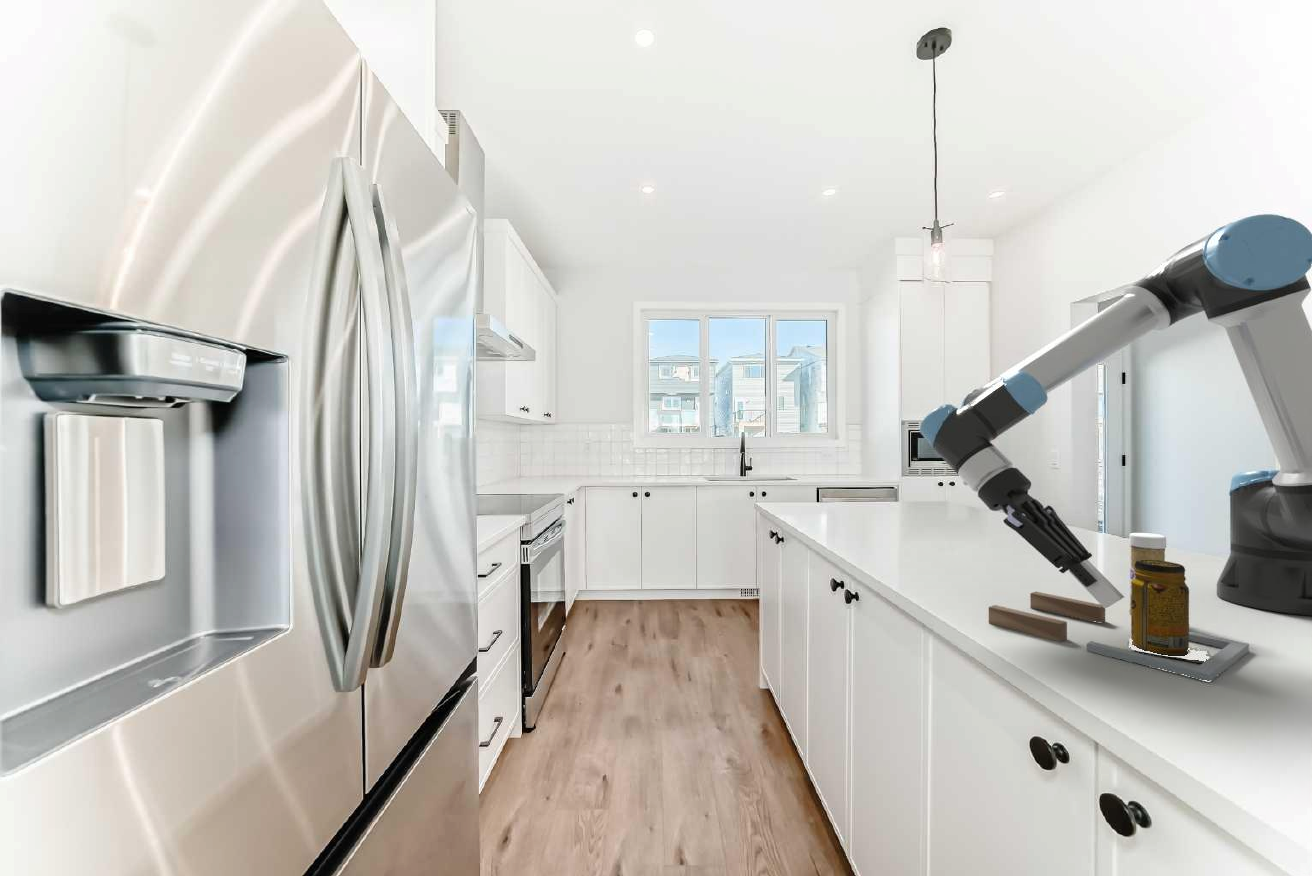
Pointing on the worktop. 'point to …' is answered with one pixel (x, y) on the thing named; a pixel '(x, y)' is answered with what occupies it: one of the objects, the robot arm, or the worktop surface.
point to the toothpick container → (1145, 551)
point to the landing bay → (1204, 671)
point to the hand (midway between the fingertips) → (1114, 602)
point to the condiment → (1160, 609)
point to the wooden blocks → (1045, 624)
